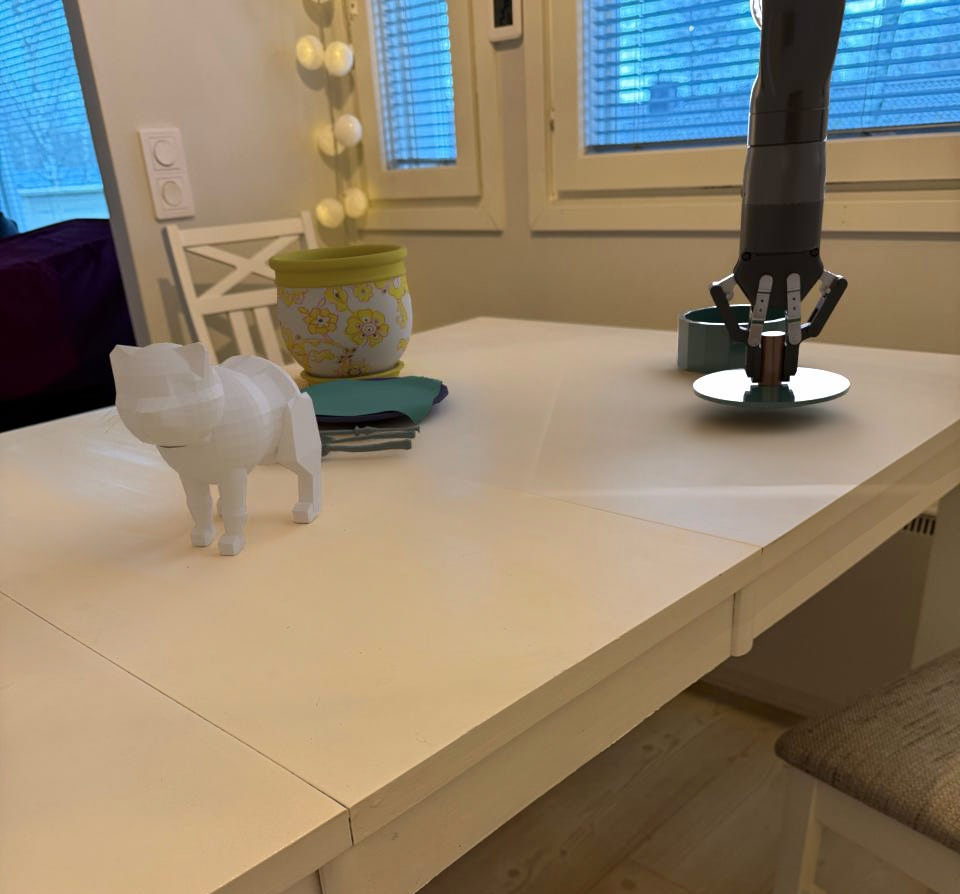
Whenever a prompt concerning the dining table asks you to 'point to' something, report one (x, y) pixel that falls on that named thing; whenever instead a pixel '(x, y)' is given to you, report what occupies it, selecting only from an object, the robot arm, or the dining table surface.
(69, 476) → the dining table surface
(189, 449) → the cat figurine
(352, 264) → the flowerpot
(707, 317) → the tin
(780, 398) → the cover
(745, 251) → the robot arm
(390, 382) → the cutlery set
